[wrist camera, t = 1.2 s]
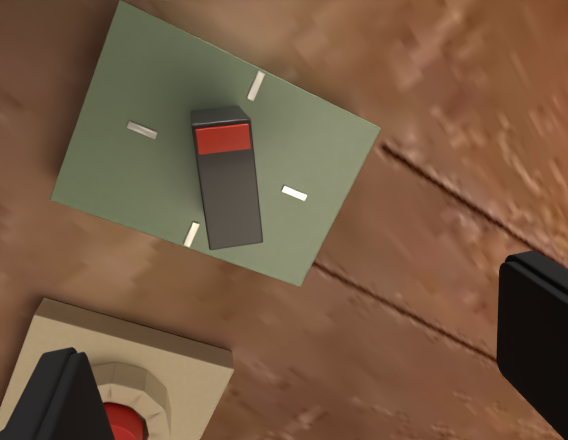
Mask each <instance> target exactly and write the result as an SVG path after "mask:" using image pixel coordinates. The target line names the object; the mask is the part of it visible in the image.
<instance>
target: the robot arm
mask: <svg viewBox="0 0 568 440" xmlns="http://www.w3.org/2000/svg"><path fill="white" fill-rule="evenodd" d="M497 364H498V367H499V370H500V372H501V373H502V375H503V376H504V377H505V378H506V379H507V380H508V381H509V382H510V383H511V384H512V385H513V386H514V387H515V388H516V390H517V391H518V392H519V393H520V394H521V395H522V396H523V397H524V398H525V399H526V400H527V401H528V402H529V403H530V404H531V405H532V406H533V407H534V408H535V409H536V410H537V411H538V413H539V414H540V415H541V416H542V417H543V418H544V419H545V420H546V421H547V422H548V423H549V424H550V425H551V426H552V427H553V428H554V429H555V430H556V431H557V432H558V433H559V435H560V436H561V437H562V438H563V439H564V440H568V269H566V268H564V267H562V266H561V265H559V264H557V263H555V262H554V261H552V260H550V259H549V258H547V257H545V256H543V255H542V254H540V253H538V252H536V251H528V252H523V253H519V254H514V255H509V256H508V257H507V258H506V260H505V263H503V264H501V266H500V270H499V297H498V328H497ZM0 440H115V437H114V434H113V431H112V428H111V425H110V422H109V419H108V416H107V413H106V410H105V407H104V404H103V401H102V398H101V395H100V392H99V389H98V386H97V384H96V381H95V378H94V375H93V372H92V369H91V366H90V363H89V360H88V357H87V355H86V353H85V352H80V353H77V351H76V349H75V348H73V347H70V348H65V349H60V350H55V351H50V352H46V353H43V354H42V355H41V357H40V359H39V361H38V363H37V365H36V367H35V369H34V371H33V373H32V375H31V377H30V379H29V381H28V383H27V385H26V387H25V389H24V391H23V393H22V395H21V397H20V399H19V401H18V402H17V404H16V406H15V408H14V410H13V412H12V414H11V416H10V418H9V420H8V422H7V424H6V426H5V428H4V429H3V430H1V431H0Z"/></svg>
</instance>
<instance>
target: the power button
mask: <svg viewBox="0 0 568 440" xmlns="http://www.w3.org/2000/svg"><path fill="white" fill-rule="evenodd" d="M103 404H104V407H105V410H106V413H107V416H108V419H109V422H110V425H111V428H112V431H113V434H114V437H115V440H142V439H143V423H142V420H141V418H140V417H139V415H138V414H137V413H136V412H135V411H134V410H132V409H131V408H129V407H127V406H125V405H122V404H118V403H103Z"/></svg>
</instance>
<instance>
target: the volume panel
mask: <svg viewBox="0 0 568 440" xmlns="http://www.w3.org/2000/svg"><path fill="white" fill-rule="evenodd" d="M232 106H240V108H241V109H242V110H243V111H244V112H245V113H246V114H247V115H248V116H249V118H250V119H251V125H252V135H253V145H254V155H255V165H256V174H257V184H258V194H259V204H260V214H261V223H262V233H263V242H262V243H257V244H250V245H243V246H236V247H229V248H223V249H216V250H210V249H209V245H208V238H207V231H206V225H205V218H204V211H203V204H202V197H201V190H200V184H199V177H198V170H197V163H196V156H195V149H194V143H193V136H192V129H191V111H193V110H203V109H213V108H223V107H232ZM380 130H381V128H380V127H378V126H376V125H374V124H372V123H370V122H368V121H366V120H364V119H362V118H360V117H358V116H356V115H354V114H352V113H350V112H348V111H346V110H344V109H342V108H340V107H337V106H335V105H333V104H331V103H329V102H327V101H325V100H323V99H321V98H319V97H317V96H315V95H313V94H311V93H309V92H307V91H305V90H303V89H301V88H299V87H297V86H295V85H293V84H291V83H289V82H287V81H285V80H283V79H281V78H279V77H277V76H275V75H273V74H270V73H268V72H266V71H264V70H262V69H260V68H258V67H256V66H254V65H252V64H250V63H248V62H246V61H244V60H242V59H240V58H238V57H236V56H234V55H232V54H230V53H228V52H226V51H224V50H222V49H220V48H218V47H216V46H214V45H212V44H210V43H208V42H206V41H203V40H201V39H199V38H197V37H195V36H193V35H191V34H189V33H187V32H185V31H183V30H181V29H179V28H177V27H175V26H173V25H171V24H169V23H167V22H165V21H163V20H161V19H159V18H157V17H155V16H153V15H151V14H149V13H147V12H145V11H143V10H141V9H139V8H137V7H134V6H132V5H130V4H128V3H126V2H124V1H122V0H119V2H118V5H117V8H116V11H115V14H114V17H113V19H112V22H111V25H110V28H109V31H108V34H107V37H106V40H105V42H104V45H103V48H102V51H101V54H100V57H99V60H98V63H97V65H96V68H95V71H94V74H93V77H92V80H91V83H90V86H89V88H88V91H87V94H86V97H85V100H84V103H83V106H82V108H81V111H80V114H79V117H78V120H77V123H76V126H75V129H74V131H73V134H72V137H71V140H70V143H69V146H68V149H67V152H66V154H65V157H64V160H63V163H62V166H61V169H60V172H59V175H58V177H57V180H56V183H55V186H54V189H53V192H52V195H51V197H50V200H51V201H54V202H57V203H60V204H63V205H66V206H68V207H71V208H74V209H77V210H80V211H83V212H86V213H89V214H91V215H94V216H97V217H100V218H103V219H106V220H109V221H112V222H114V223H117V224H120V225H123V226H126V227H129V228H132V229H135V230H137V231H140V232H143V233H146V234H149V235H152V236H155V237H158V238H160V239H163V240H166V241H169V242H172V243H175V244H178V245H181V246H183V247H186V248H189V249H192V250H195V251H198V252H201V253H204V254H206V255H209V256H212V257H215V258H218V259H221V260H224V261H227V262H229V263H232V264H235V265H238V266H241V267H244V268H247V269H250V270H252V271H255V272H258V273H261V274H264V275H267V276H270V277H272V278H275V279H278V280H281V281H284V282H287V283H290V284H293V285H295V286H298V287H301V285H302V283H303V281H304V279H305V277H306V275H307V273H308V271H309V269H310V267H311V265H312V263H313V261H314V259H315V257H316V255H317V253H318V251H319V249H320V247H321V245H322V243H323V242H324V240H325V238H326V236H327V234H328V232H329V230H330V228H331V226H332V224H333V222H334V220H335V218H336V216H337V214H338V212H339V210H340V208H341V206H342V204H343V202H344V200H345V198H346V196H347V194H348V192H349V190H350V188H351V187H352V185H353V183H354V181H355V179H356V177H357V175H358V173H359V171H360V169H361V167H362V165H363V163H364V161H365V159H366V157H367V155H368V153H369V151H370V149H371V147H372V145H373V143H374V141H375V139H376V137H377V135H378V133H379V131H380Z"/></svg>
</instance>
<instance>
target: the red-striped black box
mask: <svg viewBox="0 0 568 440" xmlns="http://www.w3.org/2000/svg"><path fill="white" fill-rule="evenodd" d="M191 129H192V136H193V143H194V149H195V156H196V163H197V170H198V177H199V184H200V190H201V197H202V204H203V211H204V218H205V225H206V231H207V238H208V245H209V249H210V250H216V249H223V248H229V247H236V246H243V245H250V244H257V243H262V242H263V233H262V223H261V214H260V204H259V194H258V184H257V174H256V165H255V155H254V145H253V135H252V125H251V119H250V118H249V116H248V115H247V114H246V113H245V112H244V111H243V110H242V109H241V108H240V106H232V107H223V108H213V109H203V110H193V111H191Z"/></svg>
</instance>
